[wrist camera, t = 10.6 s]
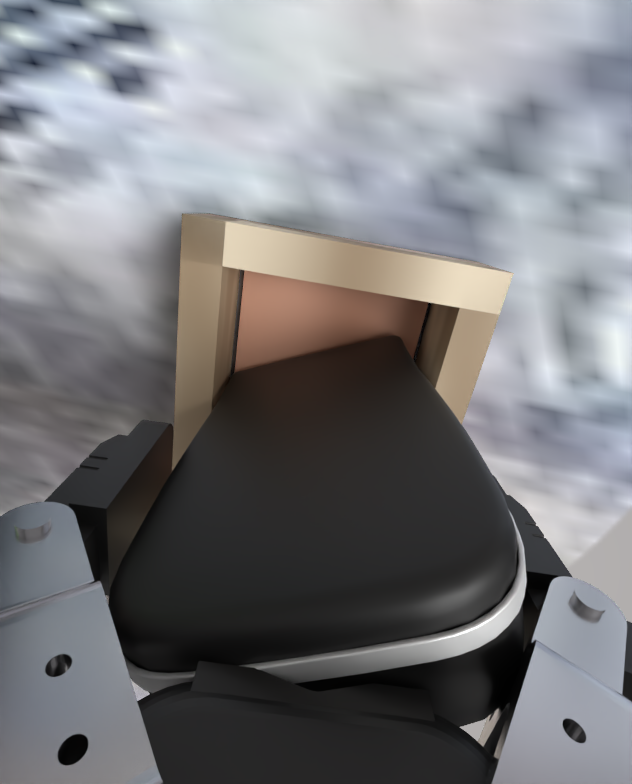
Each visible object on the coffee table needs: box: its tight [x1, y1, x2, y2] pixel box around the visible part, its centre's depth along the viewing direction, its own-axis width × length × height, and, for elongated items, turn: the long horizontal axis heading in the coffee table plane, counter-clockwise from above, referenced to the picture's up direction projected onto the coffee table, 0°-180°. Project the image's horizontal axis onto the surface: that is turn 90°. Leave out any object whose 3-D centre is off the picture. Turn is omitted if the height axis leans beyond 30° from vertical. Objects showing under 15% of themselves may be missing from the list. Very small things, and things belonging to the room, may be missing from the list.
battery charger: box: [108, 335, 527, 727], centre depth 11 cm, size 7×4×11 cm, turn 104°
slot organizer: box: [172, 214, 514, 471], centre depth 17 cm, size 9×22×3 cm, turn 170°
